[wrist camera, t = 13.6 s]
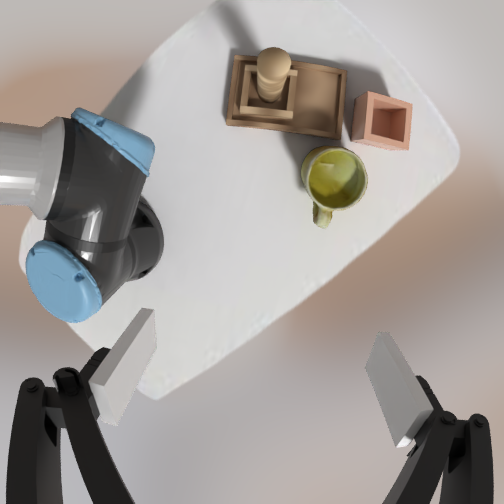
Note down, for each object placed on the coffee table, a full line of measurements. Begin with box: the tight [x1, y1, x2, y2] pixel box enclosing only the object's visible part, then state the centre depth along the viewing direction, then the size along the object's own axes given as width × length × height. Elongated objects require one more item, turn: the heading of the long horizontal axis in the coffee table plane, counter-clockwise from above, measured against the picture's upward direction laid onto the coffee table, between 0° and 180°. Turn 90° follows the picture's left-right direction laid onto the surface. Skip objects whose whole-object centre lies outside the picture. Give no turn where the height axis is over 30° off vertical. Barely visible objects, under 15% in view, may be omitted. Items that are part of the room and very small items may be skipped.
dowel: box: [257, 47, 291, 103], centre depth 34 cm, size 4×4×16 cm
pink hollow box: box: [351, 91, 412, 150], centre depth 40 cm, size 8×8×7 cm
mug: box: [301, 146, 368, 228], centre depth 43 cm, size 12×10×10 cm
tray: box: [226, 55, 347, 140], centre depth 41 cm, size 18×12×3 cm, turn 84°
